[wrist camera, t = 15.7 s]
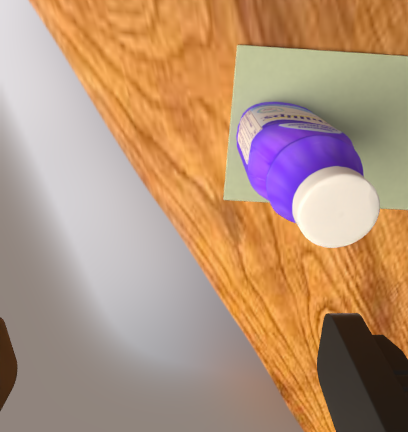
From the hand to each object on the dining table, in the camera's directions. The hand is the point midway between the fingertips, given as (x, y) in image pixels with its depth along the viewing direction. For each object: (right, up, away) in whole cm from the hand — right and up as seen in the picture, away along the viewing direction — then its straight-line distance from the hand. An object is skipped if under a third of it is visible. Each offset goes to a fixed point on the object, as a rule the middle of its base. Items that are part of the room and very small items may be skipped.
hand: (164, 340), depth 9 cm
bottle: (+7, +11, +25) cm, 28 cm away
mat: (+17, +11, +25) cm, 32 cm away
